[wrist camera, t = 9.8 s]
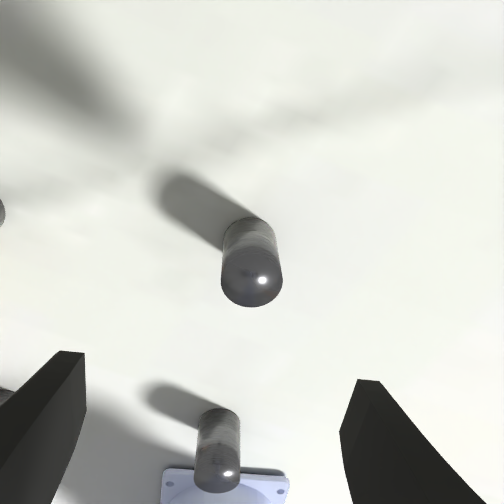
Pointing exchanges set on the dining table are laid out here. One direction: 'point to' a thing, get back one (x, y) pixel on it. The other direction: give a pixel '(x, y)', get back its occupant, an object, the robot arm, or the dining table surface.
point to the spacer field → (247, 295)
